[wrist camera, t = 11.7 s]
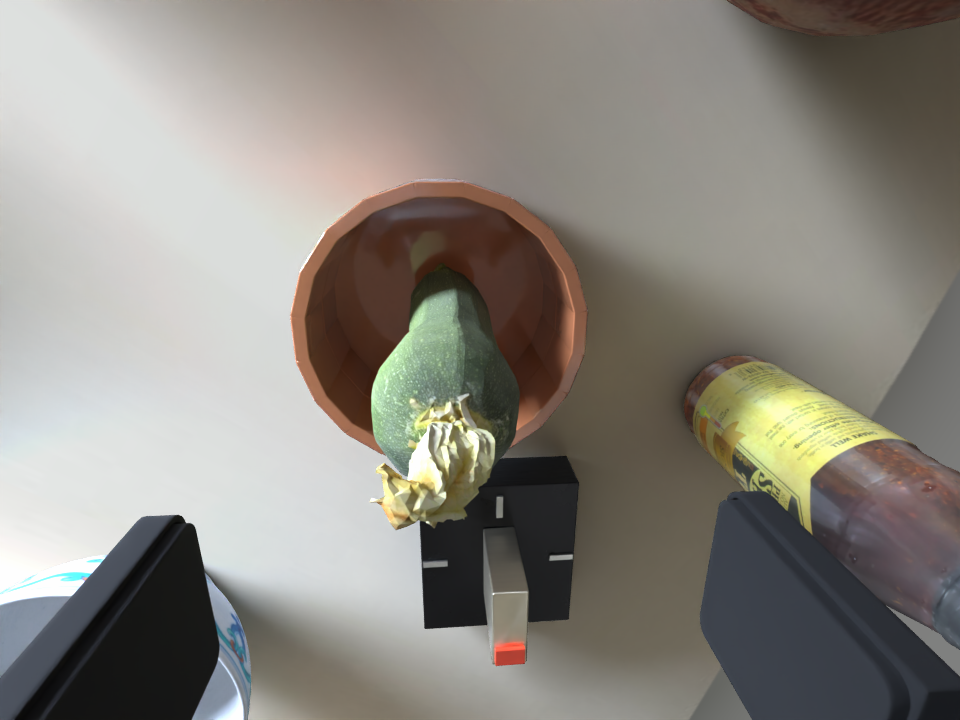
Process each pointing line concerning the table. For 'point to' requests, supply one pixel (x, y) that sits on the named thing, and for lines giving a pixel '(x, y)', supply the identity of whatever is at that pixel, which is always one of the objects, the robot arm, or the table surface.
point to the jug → (849, 15)
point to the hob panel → (540, 534)
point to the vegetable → (442, 404)
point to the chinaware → (34, 602)
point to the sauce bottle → (839, 482)
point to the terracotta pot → (400, 267)
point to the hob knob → (505, 596)
